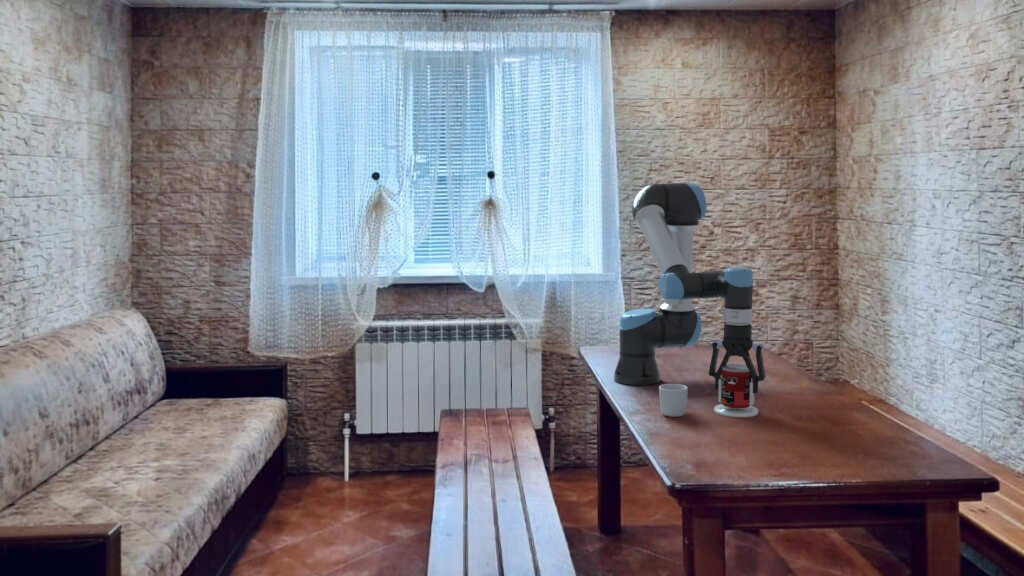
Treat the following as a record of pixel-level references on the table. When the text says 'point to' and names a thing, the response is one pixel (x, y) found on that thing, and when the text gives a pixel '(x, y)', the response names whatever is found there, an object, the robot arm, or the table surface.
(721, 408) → the plate
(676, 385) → the cup
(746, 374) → the canned food
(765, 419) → the table surface
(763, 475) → the table surface
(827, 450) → the table surface
